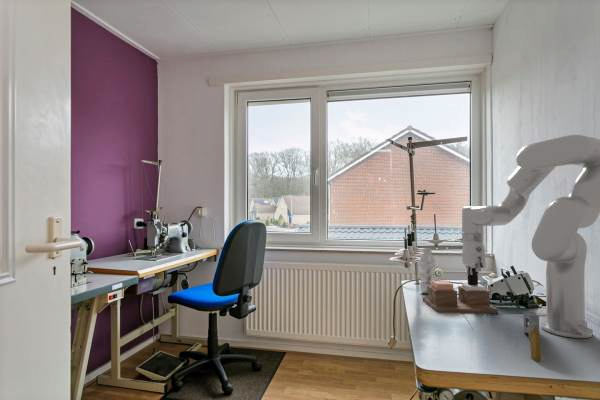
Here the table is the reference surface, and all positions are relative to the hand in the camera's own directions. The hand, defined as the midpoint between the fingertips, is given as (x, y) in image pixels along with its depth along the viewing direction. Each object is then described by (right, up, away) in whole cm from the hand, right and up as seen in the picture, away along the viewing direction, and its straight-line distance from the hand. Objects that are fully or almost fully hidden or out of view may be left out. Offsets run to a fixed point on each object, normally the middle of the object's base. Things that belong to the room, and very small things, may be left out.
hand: (472, 284), depth 133 cm
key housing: (-6, -8, 0) cm, 10 cm away
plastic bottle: (-10, -9, +20) cm, 24 cm away
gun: (-2, -8, -37) cm, 37 cm away
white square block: (0, -5, 0) cm, 5 cm away
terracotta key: (-12, -4, 0) cm, 13 cm away
